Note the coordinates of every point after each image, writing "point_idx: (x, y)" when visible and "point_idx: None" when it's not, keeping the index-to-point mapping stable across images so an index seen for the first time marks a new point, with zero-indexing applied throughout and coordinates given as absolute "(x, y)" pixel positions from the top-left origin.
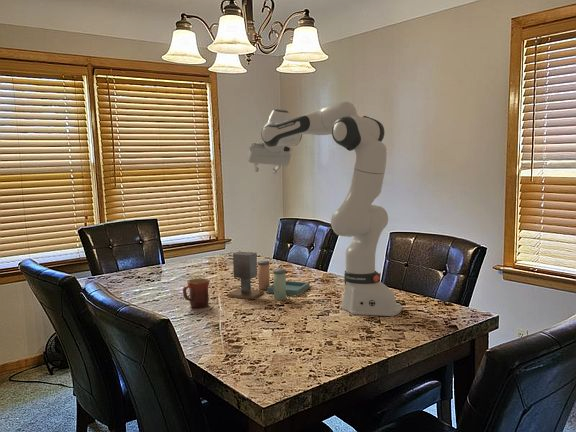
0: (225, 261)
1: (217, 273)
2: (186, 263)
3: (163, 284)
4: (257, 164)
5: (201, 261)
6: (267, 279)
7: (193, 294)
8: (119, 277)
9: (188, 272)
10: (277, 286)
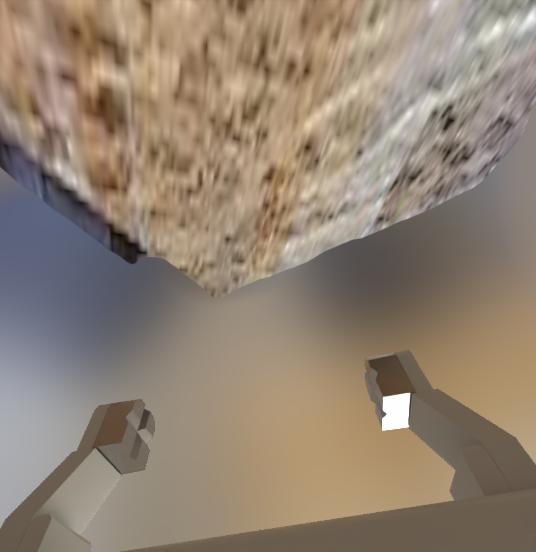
0: (254, 241)
1: (298, 143)
2: (327, 237)
3: (451, 63)
4: (475, 465)
5: (297, 246)
6: None
7: None
8: (474, 160)
9: (351, 169)
10: None
